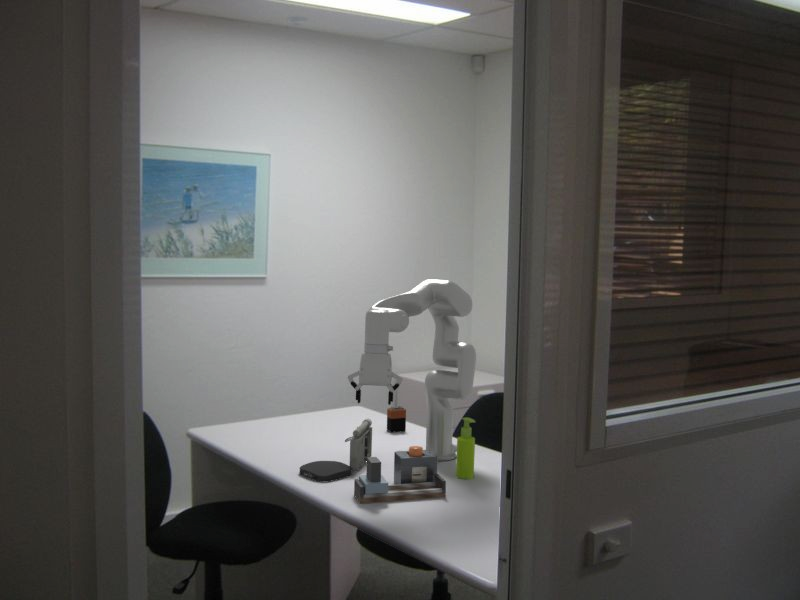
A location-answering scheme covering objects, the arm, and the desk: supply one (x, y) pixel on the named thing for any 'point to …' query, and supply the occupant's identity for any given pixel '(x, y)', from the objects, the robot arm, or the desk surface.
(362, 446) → the geiger counter
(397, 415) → the battery
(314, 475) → the media streaming box
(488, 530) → the desk surface
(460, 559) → the desk surface
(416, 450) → the button
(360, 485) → the rail
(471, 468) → the soap dispenser
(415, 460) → the cabinet
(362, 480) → the carriage
